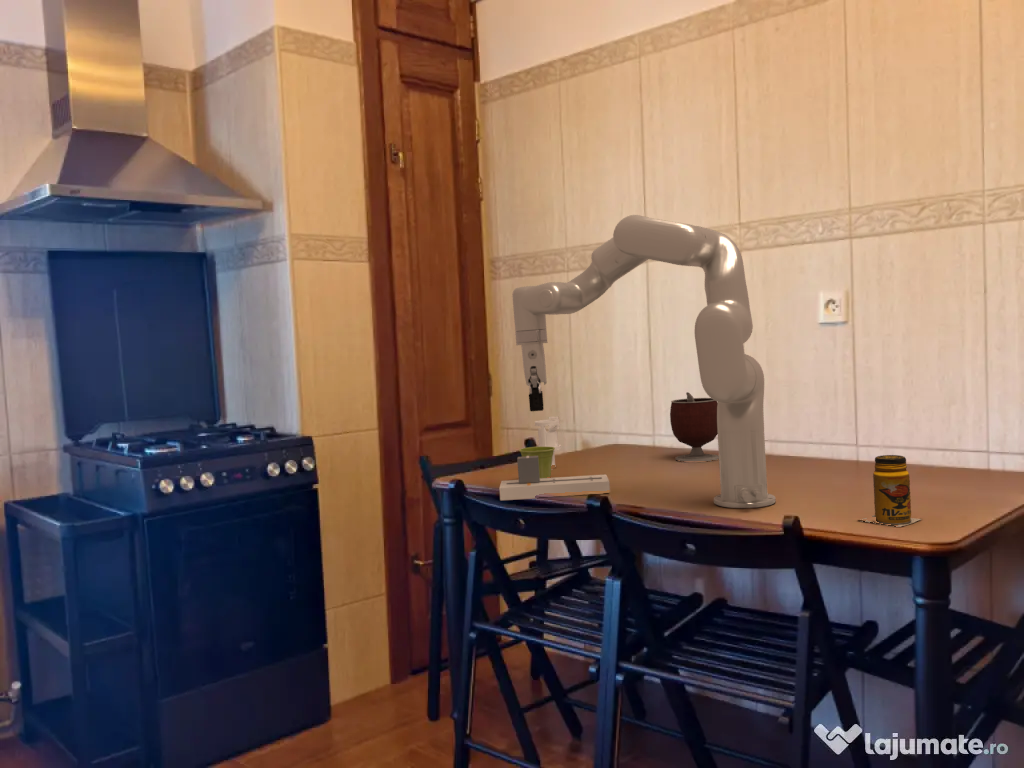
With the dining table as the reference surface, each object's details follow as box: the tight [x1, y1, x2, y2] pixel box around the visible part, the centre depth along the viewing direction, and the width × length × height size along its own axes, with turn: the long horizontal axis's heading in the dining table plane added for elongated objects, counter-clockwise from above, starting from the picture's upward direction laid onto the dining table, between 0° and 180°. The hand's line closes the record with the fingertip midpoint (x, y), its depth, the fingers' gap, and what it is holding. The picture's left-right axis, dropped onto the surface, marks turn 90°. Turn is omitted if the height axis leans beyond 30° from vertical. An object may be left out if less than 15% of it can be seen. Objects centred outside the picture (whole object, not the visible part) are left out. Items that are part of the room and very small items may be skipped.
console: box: [499, 473, 611, 501], centre depth 205 cm, size 10×26×3 cm, turn 88°
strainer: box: [534, 416, 562, 466], centre depth 244 cm, size 7×7×15 cm
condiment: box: [862, 454, 922, 528], centre depth 155 cm, size 7×8×12 cm
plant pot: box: [518, 446, 555, 478], centre depth 224 cm, size 9×9×9 cm
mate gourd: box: [669, 392, 719, 462], centre depth 242 cm, size 16×14×20 cm
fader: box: [516, 456, 540, 483], centre depth 205 cm, size 3×5×6 cm, turn 88°
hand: (537, 409), depth 204 cm, fingers open, 9 cm apart
